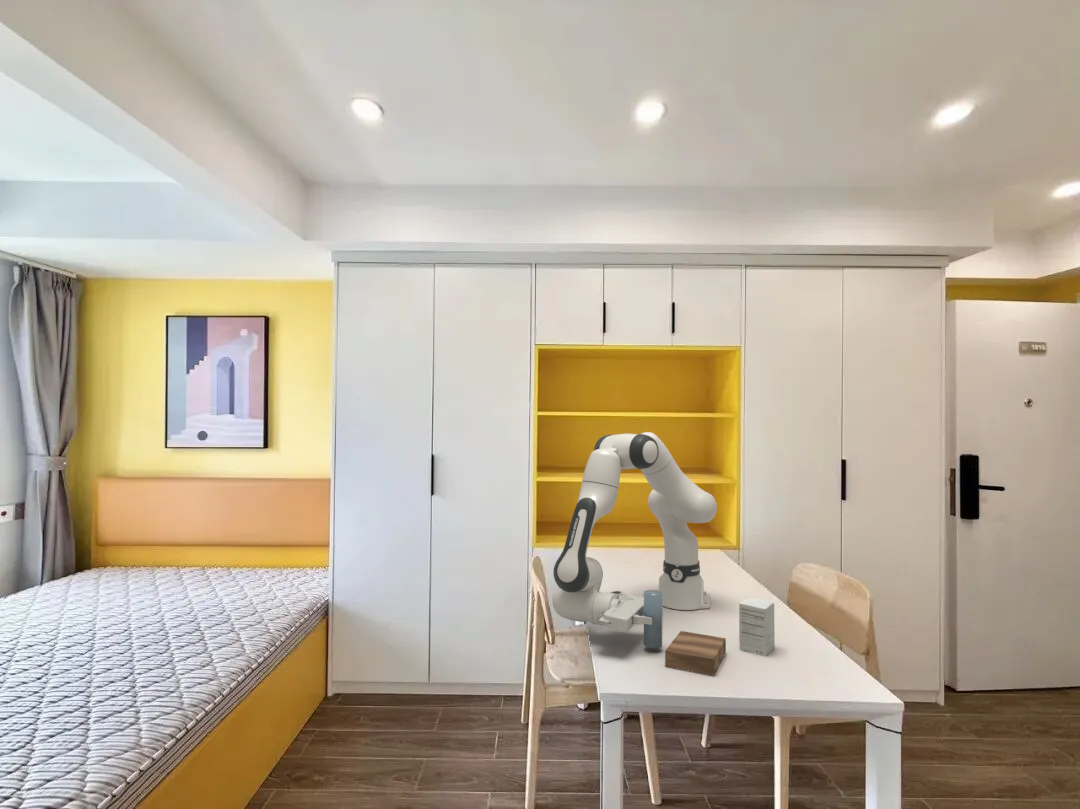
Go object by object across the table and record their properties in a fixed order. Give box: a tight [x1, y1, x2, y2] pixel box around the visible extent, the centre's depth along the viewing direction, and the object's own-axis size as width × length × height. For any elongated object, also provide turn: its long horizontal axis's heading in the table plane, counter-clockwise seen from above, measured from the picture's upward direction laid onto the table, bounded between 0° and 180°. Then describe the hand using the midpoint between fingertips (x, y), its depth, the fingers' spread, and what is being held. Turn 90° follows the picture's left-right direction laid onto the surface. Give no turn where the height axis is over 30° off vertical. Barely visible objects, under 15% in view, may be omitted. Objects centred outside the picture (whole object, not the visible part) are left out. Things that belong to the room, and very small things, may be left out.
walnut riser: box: [664, 630, 727, 677], centre depth 157 cm, size 16×12×4 cm
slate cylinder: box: [642, 589, 664, 649], centre depth 163 cm, size 5×5×14 cm
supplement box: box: [738, 597, 776, 657], centre depth 164 cm, size 7×7×13 cm
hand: (656, 617), depth 163 cm, fingers closed on slate cylinder, 5 cm apart
